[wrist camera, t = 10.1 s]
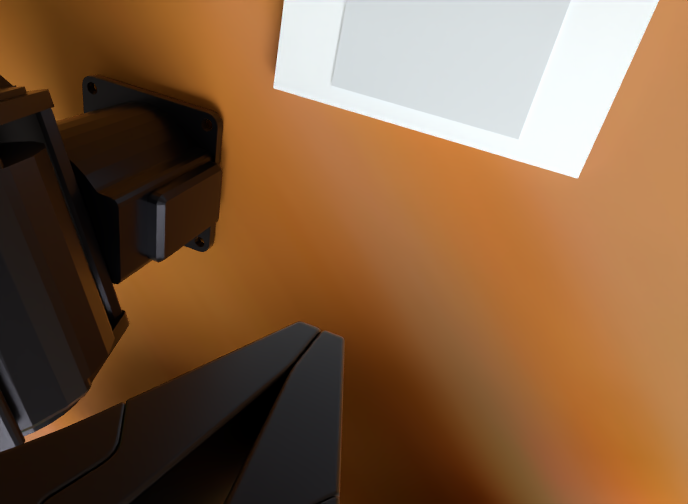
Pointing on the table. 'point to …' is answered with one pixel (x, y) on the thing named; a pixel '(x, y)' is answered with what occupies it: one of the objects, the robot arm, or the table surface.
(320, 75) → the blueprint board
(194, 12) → the table surface
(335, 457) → the robot arm
